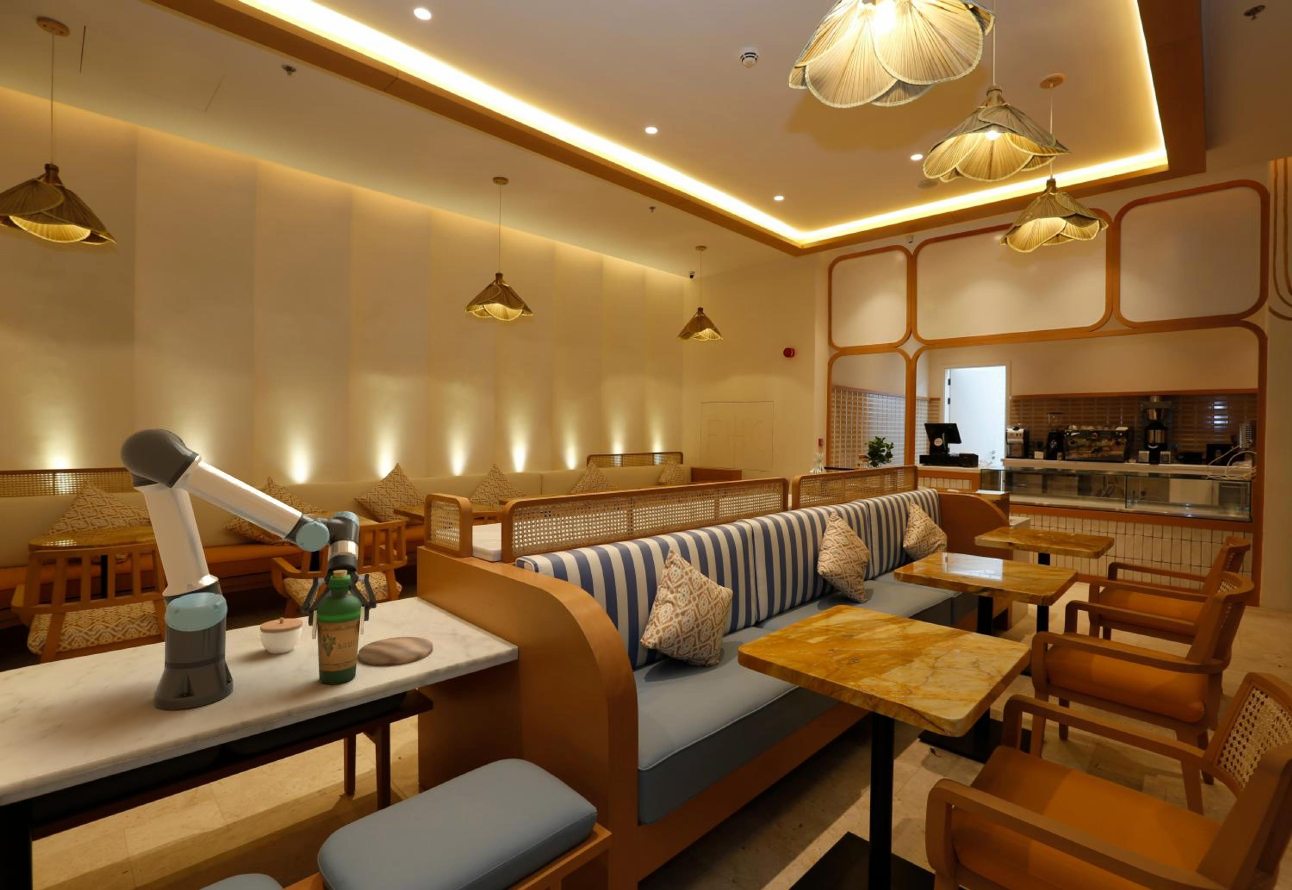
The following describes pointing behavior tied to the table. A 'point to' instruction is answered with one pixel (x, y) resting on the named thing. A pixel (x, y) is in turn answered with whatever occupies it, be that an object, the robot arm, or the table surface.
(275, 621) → the lidded jar
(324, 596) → the robot arm
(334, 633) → the bottle
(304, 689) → the table surface
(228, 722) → the table surface
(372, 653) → the serving board
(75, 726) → the table surface
